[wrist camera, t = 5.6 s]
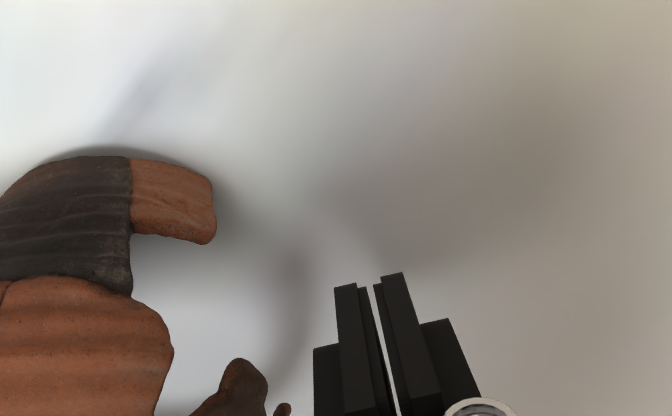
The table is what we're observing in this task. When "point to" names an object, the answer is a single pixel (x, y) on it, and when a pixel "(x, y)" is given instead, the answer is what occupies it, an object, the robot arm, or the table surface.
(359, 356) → the robot arm
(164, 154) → the table surface
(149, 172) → the pottery mug
